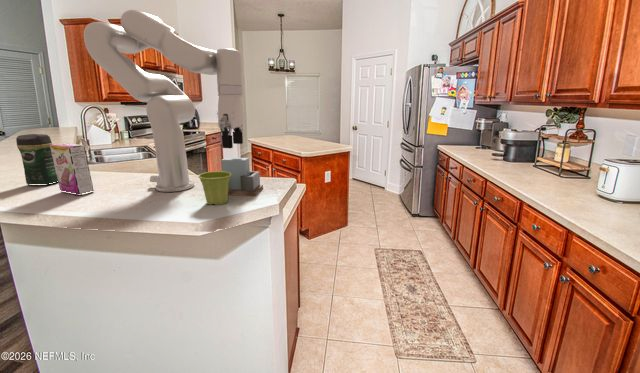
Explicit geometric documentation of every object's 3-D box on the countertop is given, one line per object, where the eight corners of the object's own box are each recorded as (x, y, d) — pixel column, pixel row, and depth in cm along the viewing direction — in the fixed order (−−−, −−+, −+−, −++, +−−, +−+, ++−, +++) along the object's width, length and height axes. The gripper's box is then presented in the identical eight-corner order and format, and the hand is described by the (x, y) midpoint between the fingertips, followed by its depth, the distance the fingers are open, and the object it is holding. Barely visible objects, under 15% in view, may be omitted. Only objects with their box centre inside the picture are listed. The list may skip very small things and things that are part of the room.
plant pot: (224, 195, 106) (222, 169, 104) (238, 202, 99) (236, 174, 97) (196, 201, 100) (193, 174, 98) (209, 209, 93) (206, 179, 91)
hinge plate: (211, 194, 107) (211, 191, 107) (221, 187, 116) (221, 184, 115) (255, 195, 106) (255, 192, 105) (263, 188, 114) (262, 184, 114)
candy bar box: (59, 192, 110) (48, 144, 106) (75, 189, 114) (65, 142, 110) (79, 196, 106) (68, 146, 101) (95, 192, 110) (85, 144, 106)
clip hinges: (214, 190, 107) (212, 175, 106) (223, 184, 115) (221, 170, 113) (253, 191, 106) (252, 176, 105) (260, 185, 113) (259, 171, 112)
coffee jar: (65, 181, 125) (54, 132, 120) (47, 187, 118) (35, 135, 113) (41, 181, 126) (30, 132, 121) (22, 186, 118) (9, 135, 113)
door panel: (223, 189, 109) (221, 159, 106) (228, 186, 113) (225, 157, 110) (247, 189, 108) (245, 160, 106) (250, 186, 112) (248, 157, 109)
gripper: (228, 91, 111) (231, 141, 115) (206, 90, 94) (211, 149, 99) (250, 92, 110) (251, 142, 115) (232, 91, 94) (235, 150, 98)
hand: (233, 145), depth 107 cm, fingers open, 9 cm apart
